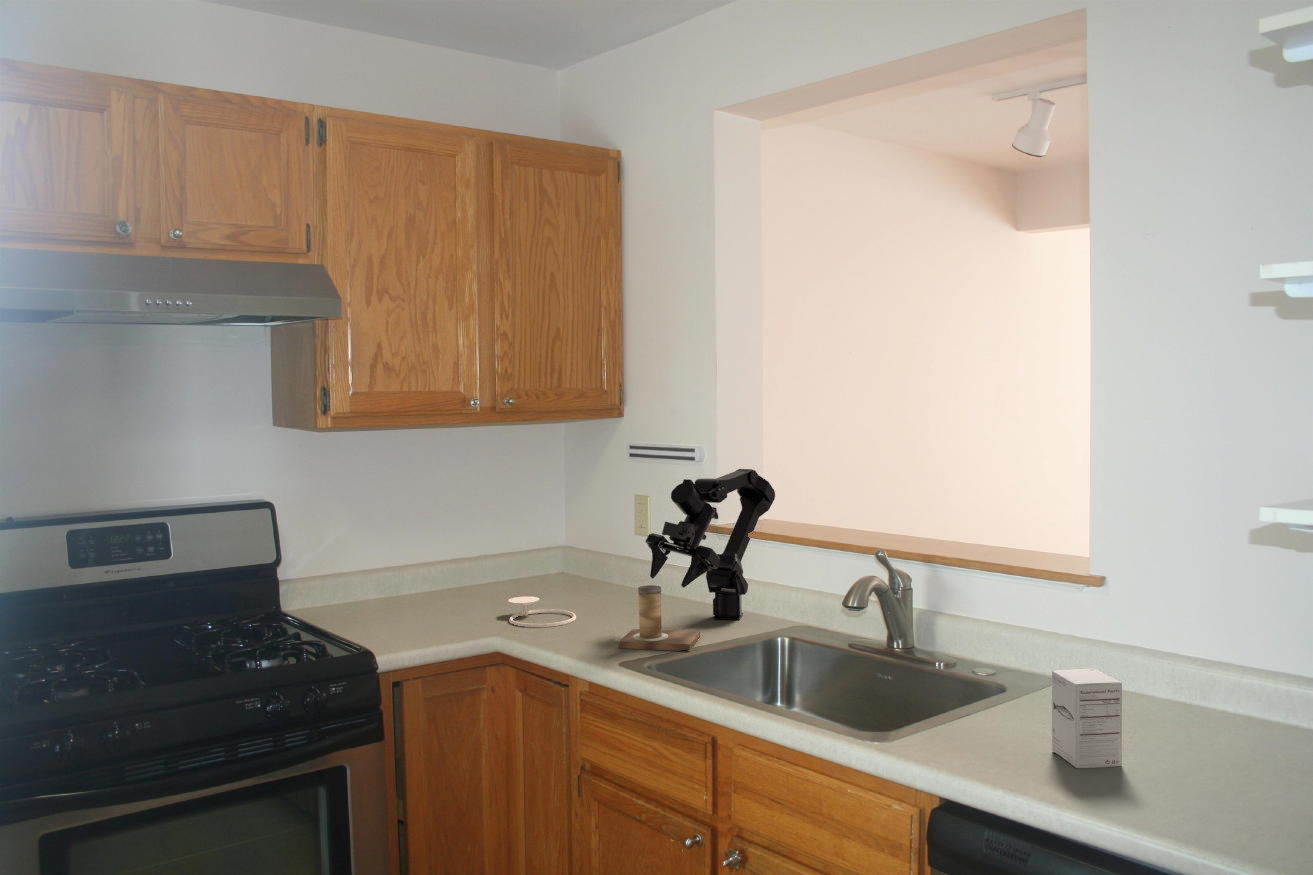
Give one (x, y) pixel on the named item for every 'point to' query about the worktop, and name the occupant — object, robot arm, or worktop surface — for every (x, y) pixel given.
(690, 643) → the walnut board
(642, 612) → the tan jar with lid
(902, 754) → the worktop surface
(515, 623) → the hand towel holder
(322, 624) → the worktop surface
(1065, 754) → the supplement box
